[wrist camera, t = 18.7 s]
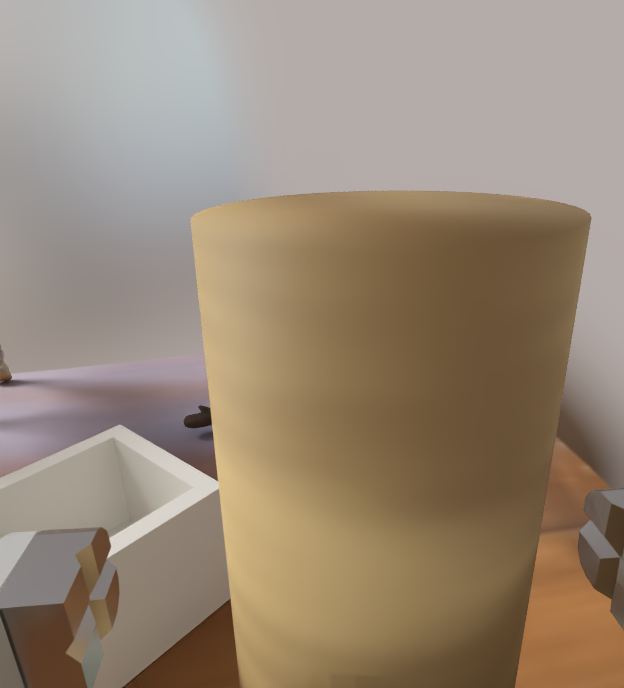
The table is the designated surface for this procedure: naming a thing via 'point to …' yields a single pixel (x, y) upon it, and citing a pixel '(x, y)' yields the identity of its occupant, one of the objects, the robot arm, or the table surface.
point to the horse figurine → (4, 369)
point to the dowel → (385, 426)
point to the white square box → (132, 537)
